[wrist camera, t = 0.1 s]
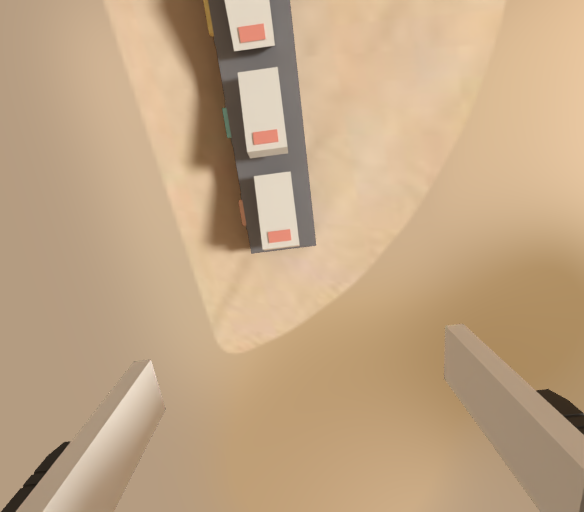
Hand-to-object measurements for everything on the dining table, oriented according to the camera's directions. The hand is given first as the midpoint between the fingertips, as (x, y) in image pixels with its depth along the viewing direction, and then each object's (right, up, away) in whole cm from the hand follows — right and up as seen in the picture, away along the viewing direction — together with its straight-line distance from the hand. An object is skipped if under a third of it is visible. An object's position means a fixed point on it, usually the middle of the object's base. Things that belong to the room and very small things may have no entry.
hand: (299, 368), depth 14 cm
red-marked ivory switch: (-4, +29, +14) cm, 33 cm away
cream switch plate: (-3, +19, +17) cm, 26 cm away
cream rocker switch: (-2, +10, +20) cm, 22 cm away
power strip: (-4, +24, +22) cm, 33 cm away
